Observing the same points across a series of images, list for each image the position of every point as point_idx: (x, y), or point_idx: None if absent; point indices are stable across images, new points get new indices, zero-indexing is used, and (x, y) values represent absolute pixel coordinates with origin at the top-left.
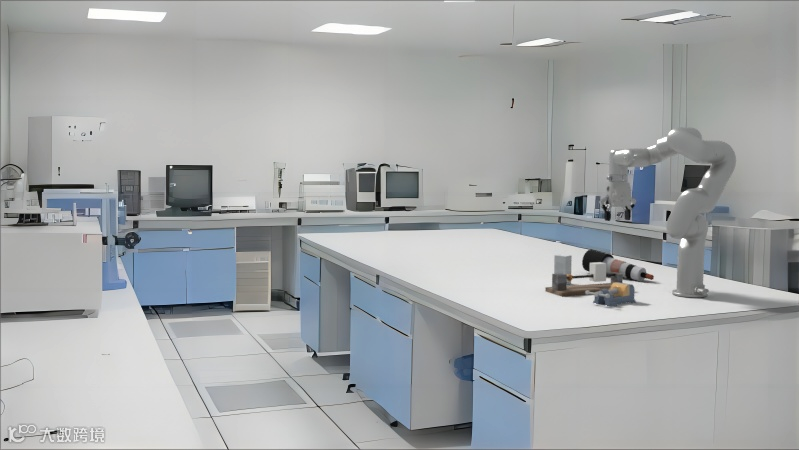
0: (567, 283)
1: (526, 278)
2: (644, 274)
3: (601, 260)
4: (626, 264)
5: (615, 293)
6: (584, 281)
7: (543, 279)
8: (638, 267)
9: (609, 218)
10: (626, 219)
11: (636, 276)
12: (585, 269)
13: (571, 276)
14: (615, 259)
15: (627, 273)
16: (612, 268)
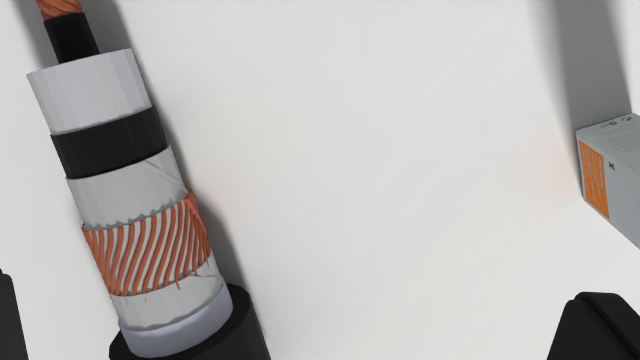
0: (614, 120)
1: None
2: (79, 24)
3: (234, 330)
4: (129, 185)
5: None
6: (440, 175)
7: None
8: (82, 89)
9: (631, 325)
10: (22, 350)
11: (134, 57)
12: None
13: None
14: (148, 295)
15: (160, 129)
16: (203, 240)
